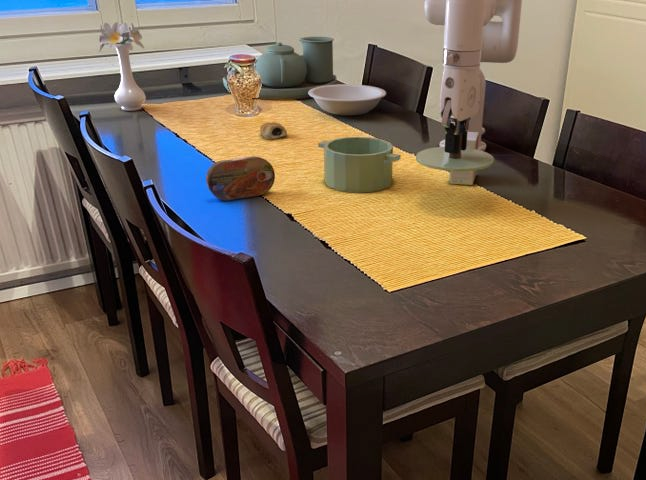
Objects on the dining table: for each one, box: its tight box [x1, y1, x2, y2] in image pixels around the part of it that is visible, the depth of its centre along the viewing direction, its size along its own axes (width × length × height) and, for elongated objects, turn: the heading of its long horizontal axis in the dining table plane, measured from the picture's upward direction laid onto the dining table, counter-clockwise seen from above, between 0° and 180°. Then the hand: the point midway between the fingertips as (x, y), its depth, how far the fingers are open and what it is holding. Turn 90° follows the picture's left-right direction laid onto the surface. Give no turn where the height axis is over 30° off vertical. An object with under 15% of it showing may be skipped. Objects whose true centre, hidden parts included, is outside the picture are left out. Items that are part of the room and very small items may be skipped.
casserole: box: [317, 136, 402, 193], centre depth 172 cm, size 16×21×8 cm
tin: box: [205, 155, 276, 202], centre depth 162 cm, size 15×3×8 cm, turn 117°
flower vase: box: [97, 21, 147, 112], centre depth 227 cm, size 13×18×25 cm
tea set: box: [222, 36, 338, 101], centre depth 258 cm, size 40×40×16 cm
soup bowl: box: [308, 83, 387, 116], centre depth 230 cm, size 24×24×7 cm
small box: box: [449, 132, 479, 186], centre depth 174 cm, size 8×6×10 cm
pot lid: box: [415, 132, 495, 172], centre depth 157 cm, size 17×17×6 cm
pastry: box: [259, 121, 287, 141], centre depth 208 cm, size 9×7×4 cm
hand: (455, 150), depth 157 cm, fingers closed on pot lid, 2 cm apart
